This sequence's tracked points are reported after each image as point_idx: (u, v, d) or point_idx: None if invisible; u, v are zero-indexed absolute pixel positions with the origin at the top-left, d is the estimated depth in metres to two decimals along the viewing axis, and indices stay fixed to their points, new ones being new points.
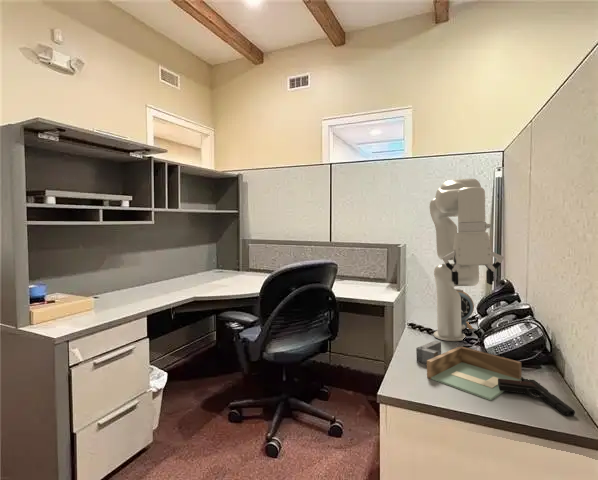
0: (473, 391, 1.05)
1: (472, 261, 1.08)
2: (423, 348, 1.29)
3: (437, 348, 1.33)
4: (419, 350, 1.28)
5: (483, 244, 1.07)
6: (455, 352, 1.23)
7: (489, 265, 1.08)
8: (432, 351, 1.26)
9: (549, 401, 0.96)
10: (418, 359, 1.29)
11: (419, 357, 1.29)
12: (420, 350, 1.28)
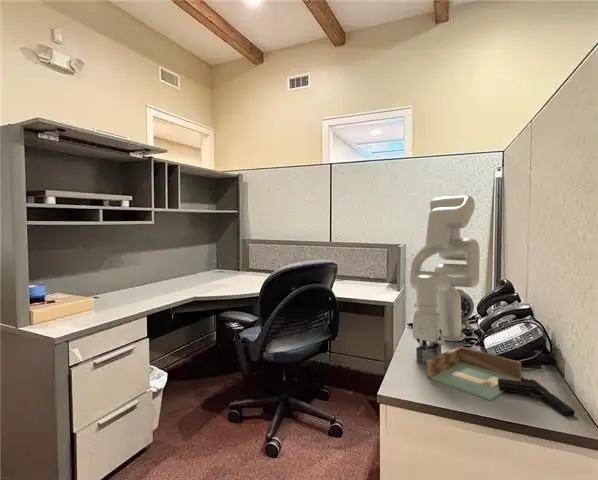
0: (473, 391, 1.05)
1: None
2: (423, 348, 1.29)
3: (437, 348, 1.33)
4: (419, 350, 1.28)
5: None
6: (455, 352, 1.23)
7: None
8: (432, 351, 1.25)
9: (549, 401, 0.96)
10: (418, 359, 1.29)
11: (419, 357, 1.28)
12: (420, 349, 1.28)
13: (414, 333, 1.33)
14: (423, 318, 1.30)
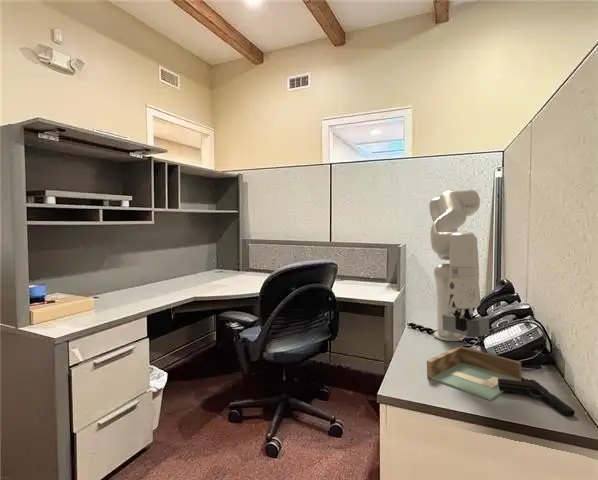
0: (473, 391, 1.05)
1: None
2: (473, 319, 1.12)
3: None
4: (476, 322, 1.11)
5: None
6: (455, 352, 1.23)
7: None
8: (483, 318, 1.14)
9: (549, 401, 0.96)
10: (475, 333, 1.10)
11: (477, 330, 1.11)
12: (477, 321, 1.11)
13: (461, 304, 1.10)
14: (470, 282, 1.12)
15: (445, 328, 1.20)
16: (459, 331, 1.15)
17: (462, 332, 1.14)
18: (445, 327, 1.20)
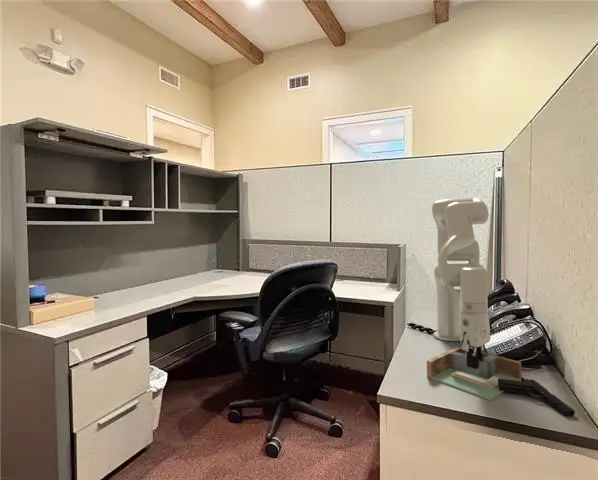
0: (473, 391, 1.05)
1: None
2: (485, 359, 1.09)
3: None
4: (489, 363, 1.08)
5: None
6: None
7: None
8: (492, 356, 1.11)
9: (549, 401, 0.96)
10: (488, 375, 1.08)
11: (489, 371, 1.08)
12: (490, 361, 1.08)
13: (476, 342, 1.06)
14: (483, 318, 1.08)
15: (453, 367, 1.16)
16: (469, 371, 1.11)
17: (473, 372, 1.11)
18: (453, 366, 1.16)
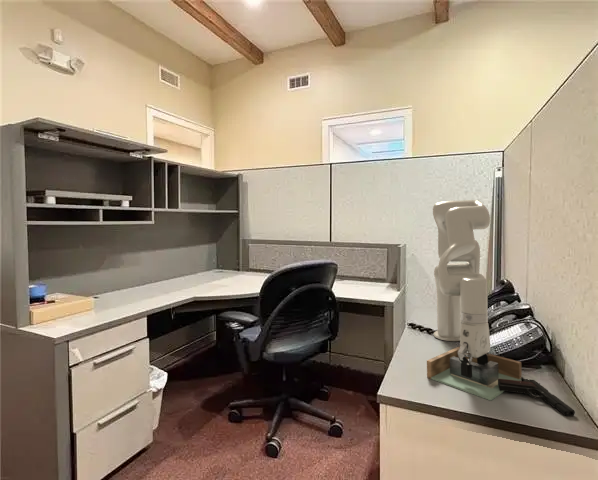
0: (473, 391, 1.05)
1: None
2: (485, 366, 1.09)
3: None
4: (489, 370, 1.08)
5: None
6: (455, 352, 1.23)
7: None
8: (492, 363, 1.11)
9: (549, 401, 0.96)
10: (488, 381, 1.08)
11: (489, 377, 1.08)
12: (490, 368, 1.08)
13: (476, 353, 1.07)
14: (483, 329, 1.09)
15: (453, 372, 1.16)
16: None
17: (473, 378, 1.11)
18: (453, 371, 1.16)
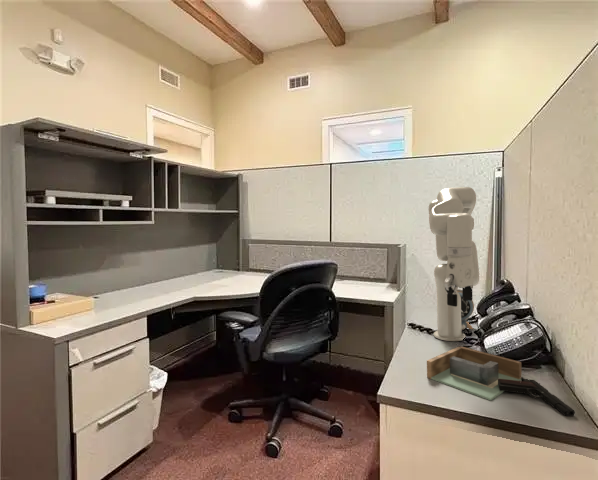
0: (473, 391, 1.05)
1: None
2: (485, 366, 1.09)
3: None
4: (489, 370, 1.08)
5: None
6: (455, 352, 1.23)
7: None
8: (492, 363, 1.11)
9: (549, 401, 0.96)
10: (488, 381, 1.08)
11: (489, 377, 1.08)
12: (490, 368, 1.08)
13: (461, 283, 1.15)
14: (467, 261, 1.17)
15: (453, 372, 1.16)
16: (469, 377, 1.11)
17: (473, 378, 1.11)
18: (453, 371, 1.16)
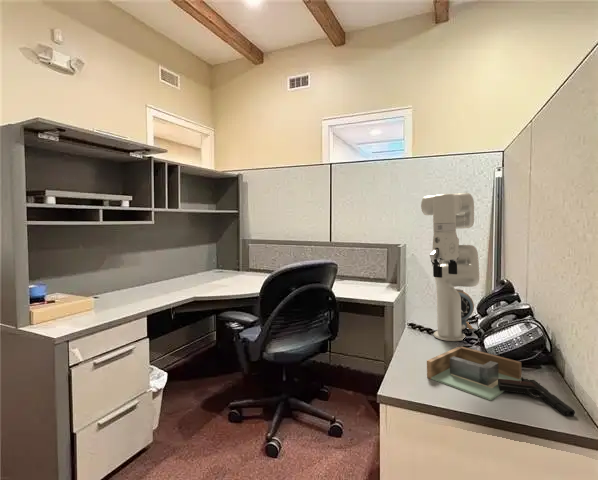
0: (473, 391, 1.05)
1: None
2: (485, 366, 1.09)
3: None
4: (489, 370, 1.08)
5: None
6: (455, 352, 1.23)
7: None
8: (492, 363, 1.11)
9: (549, 401, 0.96)
10: (488, 381, 1.08)
11: (489, 377, 1.08)
12: (490, 368, 1.08)
13: (445, 255, 1.26)
14: (451, 237, 1.28)
15: (453, 372, 1.16)
16: (469, 377, 1.11)
17: (473, 378, 1.11)
18: (453, 371, 1.16)
